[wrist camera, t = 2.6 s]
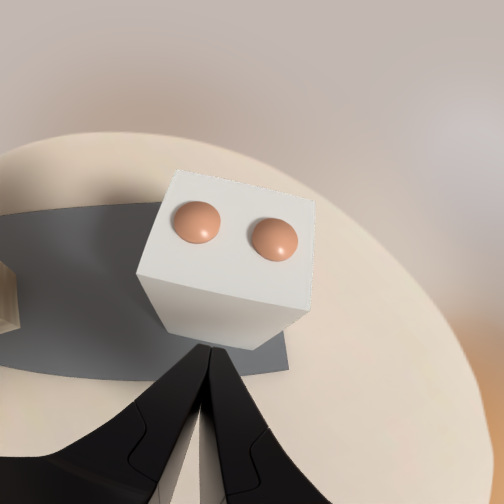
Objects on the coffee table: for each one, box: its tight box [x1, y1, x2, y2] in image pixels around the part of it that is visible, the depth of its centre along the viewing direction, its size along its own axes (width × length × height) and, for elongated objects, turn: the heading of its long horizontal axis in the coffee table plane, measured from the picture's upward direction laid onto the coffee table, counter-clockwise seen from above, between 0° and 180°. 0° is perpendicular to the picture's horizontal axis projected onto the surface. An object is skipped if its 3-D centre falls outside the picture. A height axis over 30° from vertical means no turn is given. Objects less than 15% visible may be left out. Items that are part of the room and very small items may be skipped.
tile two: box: [136, 169, 316, 350], centre depth 12 cm, size 4×5×9 cm
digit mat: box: [0, 202, 289, 381], centre depth 15 cm, size 26×12×1 cm, turn 97°
